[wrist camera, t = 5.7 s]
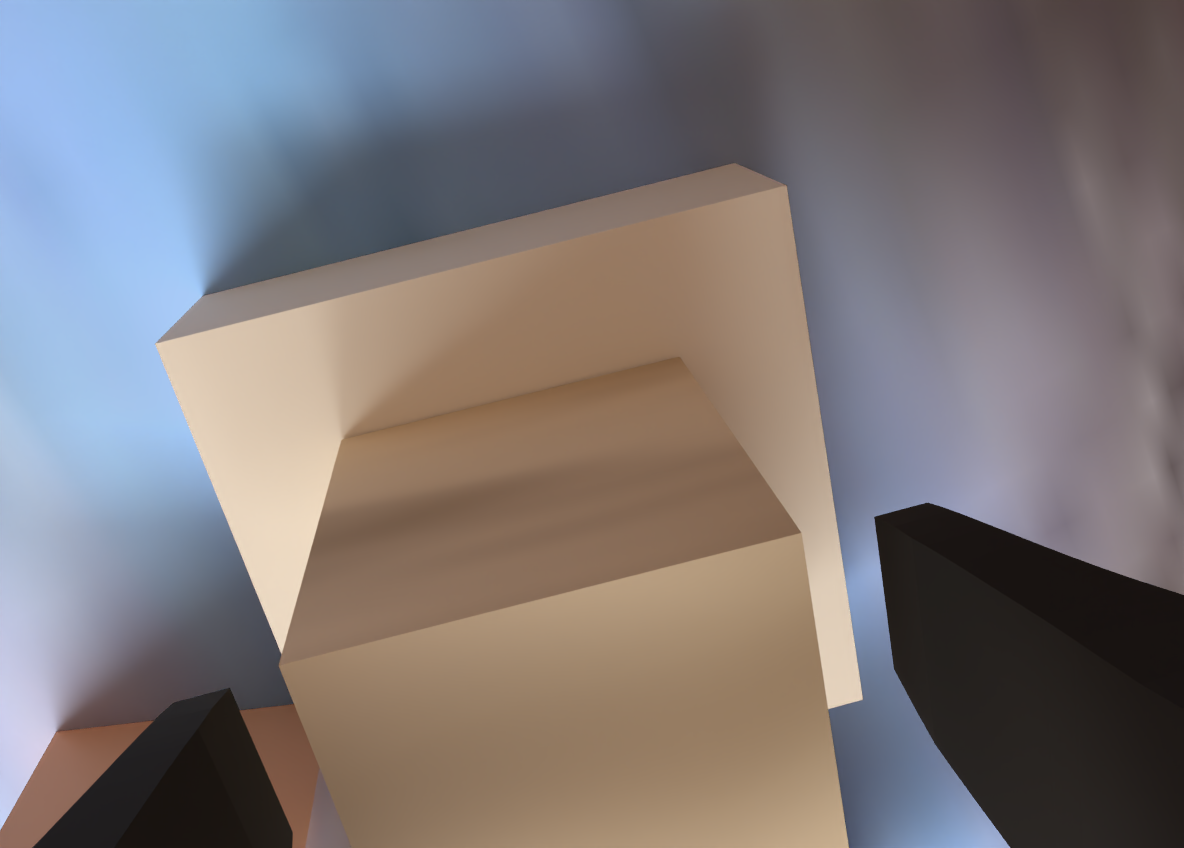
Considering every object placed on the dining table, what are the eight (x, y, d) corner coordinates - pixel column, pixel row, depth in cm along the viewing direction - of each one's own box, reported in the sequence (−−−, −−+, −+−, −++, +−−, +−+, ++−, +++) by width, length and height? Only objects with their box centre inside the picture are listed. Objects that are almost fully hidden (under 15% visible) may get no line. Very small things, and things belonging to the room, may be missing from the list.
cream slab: (801, 599, 18) (862, 699, 16) (371, 714, 18) (355, 836, 15) (726, 159, 15) (786, 184, 13) (210, 287, 15) (154, 343, 12)
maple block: (733, 639, 15) (859, 915, 10) (434, 716, 15) (425, 1032, 10) (679, 357, 13) (801, 532, 9) (341, 439, 13) (279, 665, 8)
